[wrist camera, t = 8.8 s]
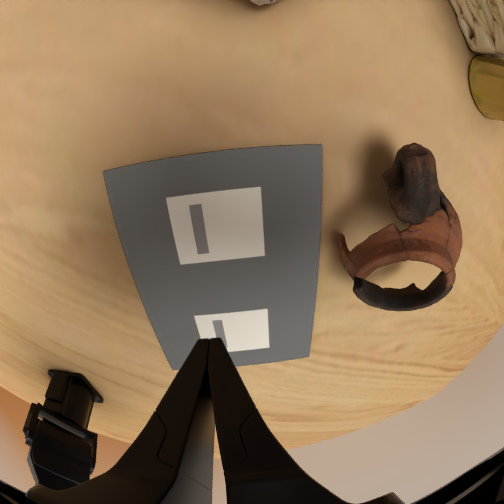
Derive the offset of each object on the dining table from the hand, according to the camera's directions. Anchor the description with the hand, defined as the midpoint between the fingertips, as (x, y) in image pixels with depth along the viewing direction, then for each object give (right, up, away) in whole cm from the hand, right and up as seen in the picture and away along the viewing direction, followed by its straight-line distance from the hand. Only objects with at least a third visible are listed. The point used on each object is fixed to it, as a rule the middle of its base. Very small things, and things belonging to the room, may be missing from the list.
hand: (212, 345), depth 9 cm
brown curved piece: (+12, +7, +9) cm, 16 cm away
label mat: (-1, +1, +11) cm, 11 cm away
